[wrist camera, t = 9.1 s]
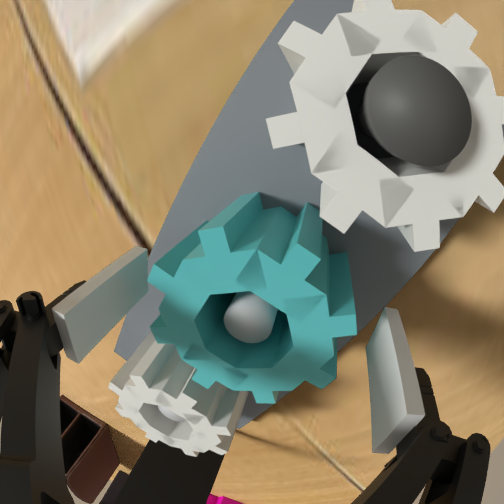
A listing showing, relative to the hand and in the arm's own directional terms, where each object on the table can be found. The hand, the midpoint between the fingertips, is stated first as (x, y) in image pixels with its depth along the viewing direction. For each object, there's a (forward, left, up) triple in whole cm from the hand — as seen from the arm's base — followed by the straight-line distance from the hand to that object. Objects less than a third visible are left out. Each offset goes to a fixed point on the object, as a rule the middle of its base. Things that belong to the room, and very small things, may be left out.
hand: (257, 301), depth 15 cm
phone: (+20, +4, -5) cm, 21 cm away
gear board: (0, 0, -5) cm, 5 cm away
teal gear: (0, 0, -3) cm, 3 cm away
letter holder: (+50, -7, -5) cm, 51 cm away
